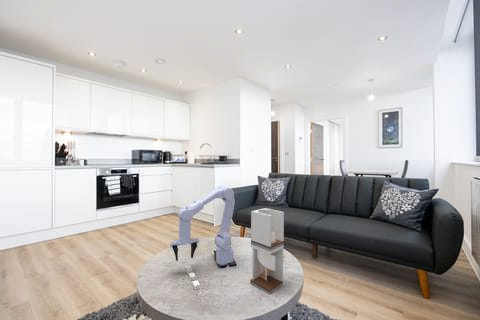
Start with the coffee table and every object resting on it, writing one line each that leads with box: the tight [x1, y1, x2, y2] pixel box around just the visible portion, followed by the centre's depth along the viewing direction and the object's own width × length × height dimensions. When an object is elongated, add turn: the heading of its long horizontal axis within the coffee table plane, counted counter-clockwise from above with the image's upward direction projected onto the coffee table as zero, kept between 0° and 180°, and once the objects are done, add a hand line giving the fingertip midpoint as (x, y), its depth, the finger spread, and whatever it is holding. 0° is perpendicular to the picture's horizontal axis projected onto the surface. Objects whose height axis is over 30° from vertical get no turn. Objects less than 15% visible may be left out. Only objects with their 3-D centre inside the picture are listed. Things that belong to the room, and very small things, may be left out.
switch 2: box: [188, 271, 196, 282], centre depth 107 cm, size 2×4×2 cm, turn 25°
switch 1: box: [184, 265, 193, 274], centre depth 114 cm, size 2×4×2 cm, turn 25°
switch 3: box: [191, 279, 201, 291], centre depth 100 cm, size 2×4×2 cm, turn 25°
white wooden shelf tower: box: [249, 207, 285, 295], centre depth 106 cm, size 11×11×35 cm
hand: (184, 258), depth 113 cm, fingers open, 7 cm apart
